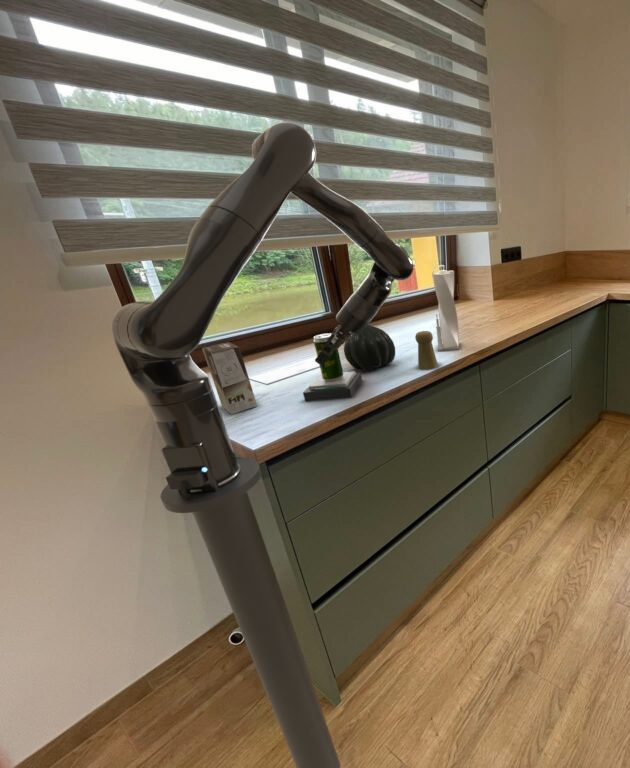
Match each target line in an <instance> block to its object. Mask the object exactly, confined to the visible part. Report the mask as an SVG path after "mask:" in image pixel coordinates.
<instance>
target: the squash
mask: <svg viewBox="0 0 630 768" xmlns="http://www.w3.org/2000/svg"><path fill="white" fill-rule="evenodd" d="M351 334H352V335H351V336H350V337H349V338H348V339H347V340H346V341H345V342H344V344H343V354H344V357H345V359H346V361H347V362H348V364H349V365H350V366H351V367H353V368H354V369H355V370H357V371H366V372H369V371H372V370H374V369H375V368H379V367H381V366H382V367H384V366H388V365H390V364H391V363H393V361H394V360H395V358H396V346H395V343H394V341H393V339H392V338H391V337H390V335H389V334H388V333H387V332H386V331H385V330H383V329H381V328H379V327H377V326H374V325H371V324H368V325H367V327H366V328H365V329H364V330H363V332H362V333H360V334H355V333H352V332H351Z"/></svg>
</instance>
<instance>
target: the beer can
mask: <svg viewBox="0 0 630 768" xmlns="http://www.w3.org/2000/svg"><path fill="white" fill-rule="evenodd" d="M331 334H332V333H331V332H330V333H328V332H327V333H321V334H317V335H315V336H313V345H314V350H315V354H316V357H317V356H318V355H319V354H320V352H321V348H322V347H323V346H324V345H325V343H326V341H327V339H328V338H329V337H330V336H331ZM326 348H328V349H329V350H331V348H329V347H328V346H327V347H326ZM318 366H319V369H320V373H321V374H322V378H323V379H324V380H325V381H327V382H331V381H336V380H339V379H341V378H343V372H344V370H343V366H342V361H341V357H340V353H339V348H338V349H335V350H334V351H333V353H332V355H330V356H329V357H328V359H327V360H326V361H325V362H324V364H323V365H320V364H318ZM321 374H320V375H321Z"/></svg>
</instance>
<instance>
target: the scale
mask: <svg viewBox="0 0 630 768" xmlns="http://www.w3.org/2000/svg"><path fill="white" fill-rule="evenodd" d="M362 383H363V376H362V373H361V372H359V373H356V371H343V378H341V379H339V380H336V381H331V382H327V381H325V380H324V379H323V378H322V374H320V375H319V376H318V377H316V379H315V380H314V381H313V382H312V383H311V384H310V385H309V386H308V387H307V388H306V389H305V390H304V391H303V392H302V395H303V398H304V401H305V402H314V401H324V400H325V401H326V400H339V399H349V398H353V396H354V395H355V393H356V392H357V390H358V389H359V387H360V386H361V384H362Z"/></svg>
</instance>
